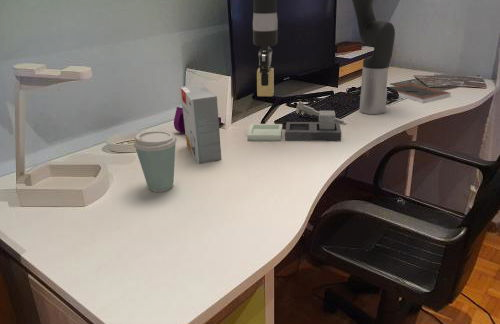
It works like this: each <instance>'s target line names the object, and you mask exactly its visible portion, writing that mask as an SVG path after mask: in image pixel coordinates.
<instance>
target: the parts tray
mask: <svg viewBox="0 0 500 324" xmlns="http://www.w3.org/2000/svg"><path fill="white" fill-rule="evenodd" d="M282 134H283V123H251V124H250V126H249V130H248V132H247V135H246V137H247V142H249V141H253V142H281V140H282Z"/></svg>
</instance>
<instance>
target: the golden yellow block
mask: <svg viewBox="0 0 500 324" xmlns="http://www.w3.org/2000/svg"><path fill="white" fill-rule="evenodd" d="M262 69H266V68H262ZM274 69H275V68H274V67H270V68H269V74H268V86H262V85H261V73H260V67H258V68H257V70H256V93H257V94H256V95H257V97H274V90H275V88H274V87H275V82H274V80H275V78H274V77H275V75H274V74H275V73H274V71H275V70H274Z"/></svg>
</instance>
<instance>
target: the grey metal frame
mask: <svg viewBox="0 0 500 324" xmlns="http://www.w3.org/2000/svg"><path fill="white" fill-rule="evenodd" d="M284 131H285V132H284V134H285V135H284V136H285V137H284V141H285V142H286V141H287V142H288V141H289V142H295V141H296V142H342V129H341V124H340V123H339V122H335V131H319V121H286V125H285V129H284Z"/></svg>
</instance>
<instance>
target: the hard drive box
mask: <svg viewBox="0 0 500 324" xmlns="http://www.w3.org/2000/svg"><path fill="white" fill-rule="evenodd" d="M179 90H180V96H181V98H180V99H181V105H182V107H181V108H183V116H184V125H185V133H184V134H185V141H186V146H187V148H188V150H189V151H190V153H191V154H192V156H193V157H194V160H195V161H196V162H197V164H198V165H200V164H204V163H209V162H215V161H216V162H217V161H219V160H222V149H221V135H220V123H219V119H218V117H219V109H218V107H219V106H218V98H217V95H216V94H215V93H213V91H211V90H210V88H208V87H207V86H206V85H204V84H203V83H198V84H191V85H185V86H184V85H183V86H182V85H181V86H179Z"/></svg>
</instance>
